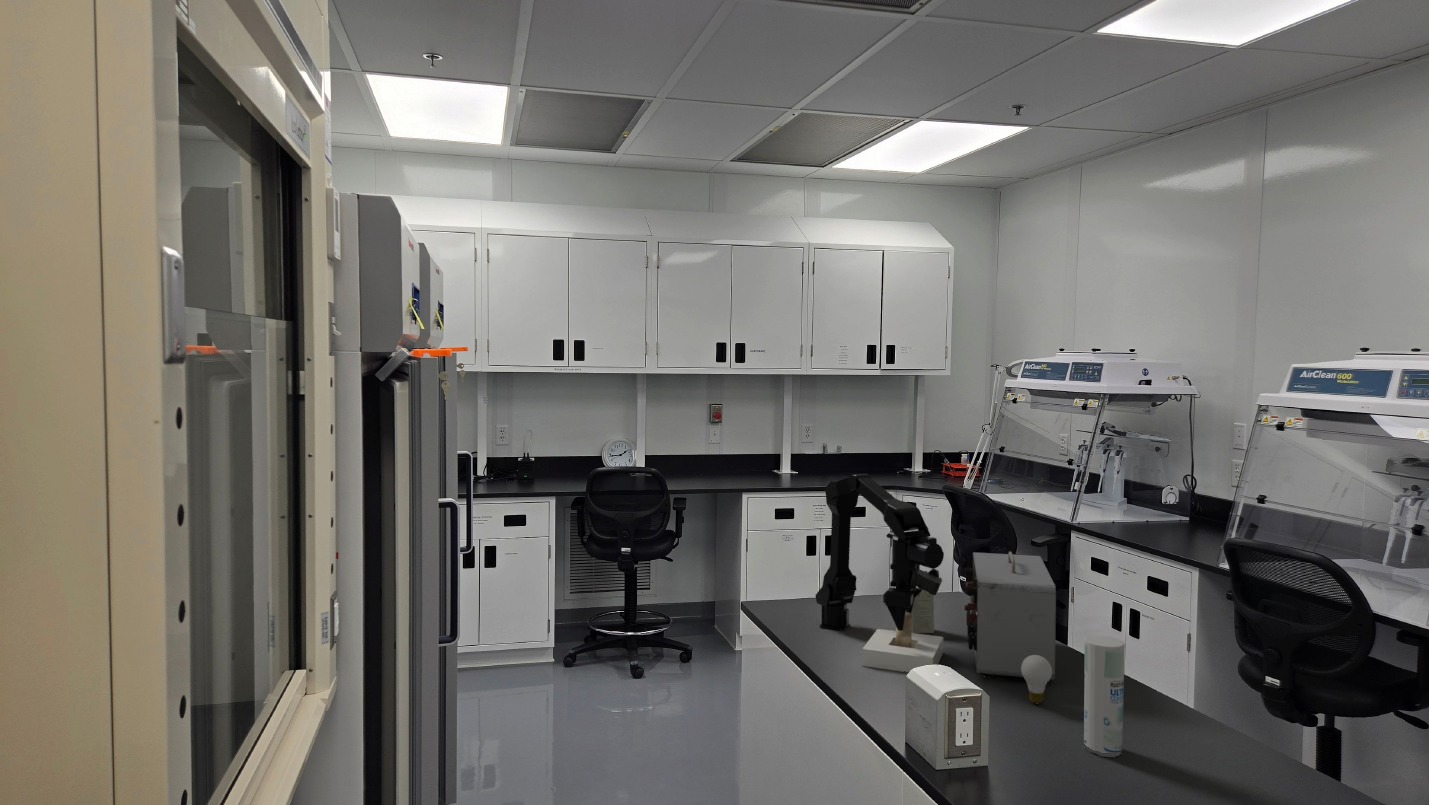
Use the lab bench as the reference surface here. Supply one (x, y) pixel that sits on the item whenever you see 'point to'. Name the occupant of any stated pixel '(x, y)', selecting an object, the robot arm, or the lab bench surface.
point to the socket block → (901, 651)
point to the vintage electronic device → (1010, 612)
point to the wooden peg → (905, 633)
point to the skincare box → (923, 613)
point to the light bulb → (1036, 676)
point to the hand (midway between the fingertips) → (904, 624)
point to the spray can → (1103, 693)
